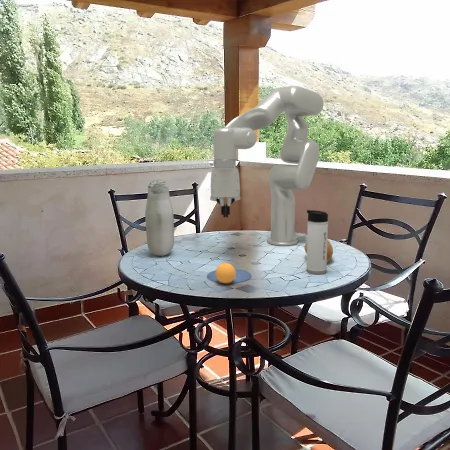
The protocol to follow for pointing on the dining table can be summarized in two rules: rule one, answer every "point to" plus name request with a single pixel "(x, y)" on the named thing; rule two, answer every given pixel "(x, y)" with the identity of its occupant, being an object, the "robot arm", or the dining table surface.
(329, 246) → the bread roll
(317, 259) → the travel mug
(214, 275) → the disc
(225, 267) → the ball
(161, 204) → the grey beige bottle
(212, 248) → the dining table surface
